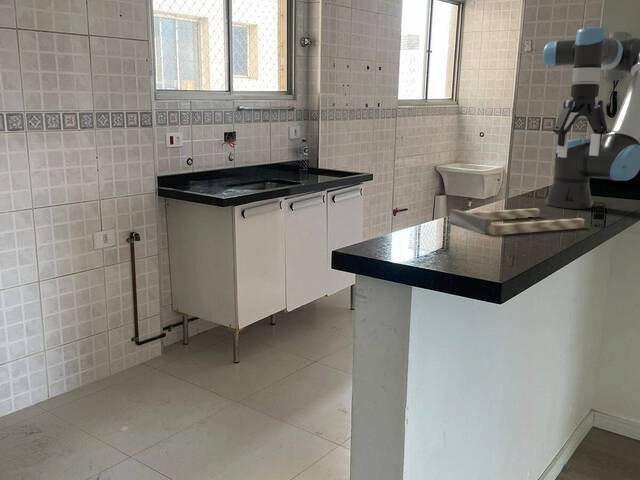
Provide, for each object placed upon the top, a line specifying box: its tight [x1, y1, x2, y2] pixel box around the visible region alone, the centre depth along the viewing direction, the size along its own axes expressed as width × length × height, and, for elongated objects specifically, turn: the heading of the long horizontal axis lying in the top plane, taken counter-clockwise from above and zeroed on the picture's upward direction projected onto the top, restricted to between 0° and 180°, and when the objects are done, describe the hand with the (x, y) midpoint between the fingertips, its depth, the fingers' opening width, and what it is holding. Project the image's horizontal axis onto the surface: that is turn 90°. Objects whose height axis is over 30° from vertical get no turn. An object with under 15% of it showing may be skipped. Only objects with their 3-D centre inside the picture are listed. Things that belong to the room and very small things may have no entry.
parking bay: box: [448, 207, 585, 236], centre depth 174 cm, size 34×20×4 cm, turn 113°
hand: (578, 156), depth 181 cm, fingers open, 13 cm apart
